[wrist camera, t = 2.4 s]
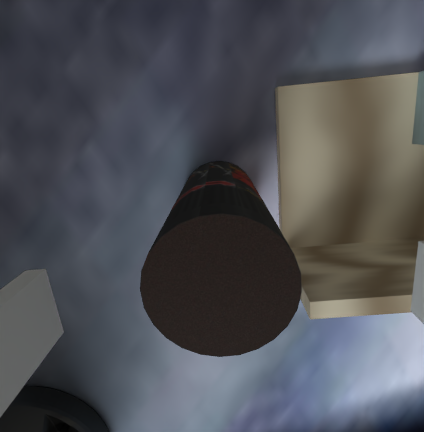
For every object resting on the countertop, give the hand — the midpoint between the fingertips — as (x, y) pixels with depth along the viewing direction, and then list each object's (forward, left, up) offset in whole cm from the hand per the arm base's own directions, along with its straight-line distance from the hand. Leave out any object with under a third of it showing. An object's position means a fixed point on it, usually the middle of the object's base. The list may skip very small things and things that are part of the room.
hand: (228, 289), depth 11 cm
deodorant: (0, 0, -15) cm, 15 cm away
